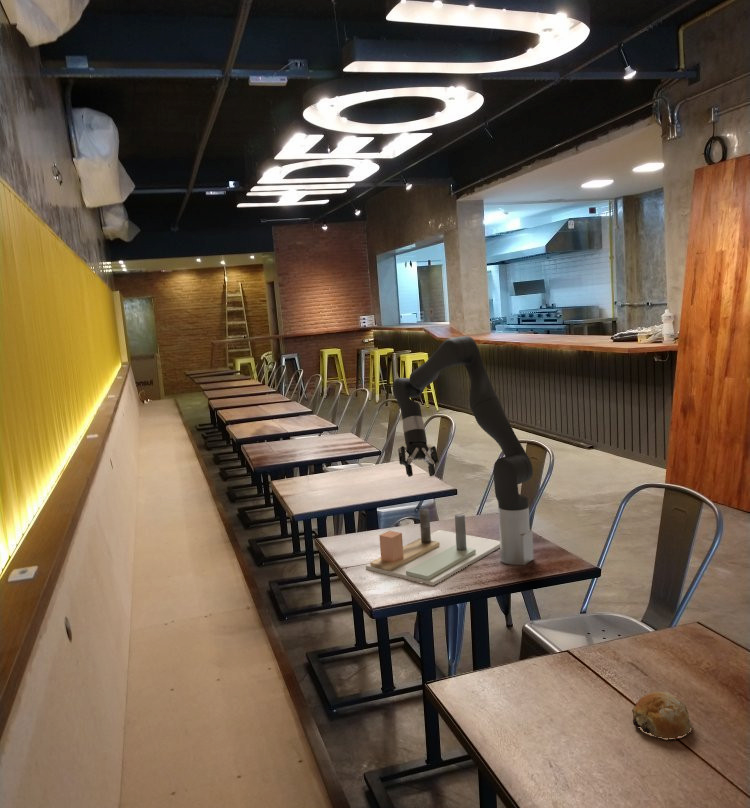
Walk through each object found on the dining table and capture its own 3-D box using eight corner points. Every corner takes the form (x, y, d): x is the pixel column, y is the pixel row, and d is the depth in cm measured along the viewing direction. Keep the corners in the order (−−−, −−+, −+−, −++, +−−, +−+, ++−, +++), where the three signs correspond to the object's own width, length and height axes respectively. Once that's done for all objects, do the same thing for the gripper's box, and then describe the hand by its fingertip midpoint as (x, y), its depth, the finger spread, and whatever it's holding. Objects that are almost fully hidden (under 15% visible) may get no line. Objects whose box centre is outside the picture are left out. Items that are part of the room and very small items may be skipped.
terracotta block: (403, 557, 222) (401, 533, 221) (393, 562, 218) (391, 537, 217) (391, 554, 225) (389, 530, 224) (381, 559, 221) (379, 535, 220)
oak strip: (439, 545, 234) (437, 509, 233) (390, 571, 215) (387, 532, 213) (420, 541, 239) (418, 506, 238) (370, 566, 220) (367, 528, 218)
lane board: (503, 545, 235) (503, 541, 235) (433, 586, 205) (433, 582, 204) (439, 533, 251) (439, 529, 251) (365, 569, 221) (365, 565, 221)
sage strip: (475, 552, 225) (473, 515, 224) (427, 580, 206) (425, 539, 204) (454, 548, 230) (452, 512, 229) (406, 574, 211) (403, 535, 209)
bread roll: (686, 762, 127) (707, 725, 126) (632, 737, 128) (651, 700, 127) (673, 729, 137) (692, 695, 135) (623, 706, 138) (641, 672, 136)
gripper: (401, 427, 242) (408, 473, 237) (437, 428, 248) (444, 472, 243) (391, 434, 248) (398, 479, 243) (426, 434, 255) (433, 478, 249)
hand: (421, 476), depth 243 cm, fingers open, 8 cm apart
